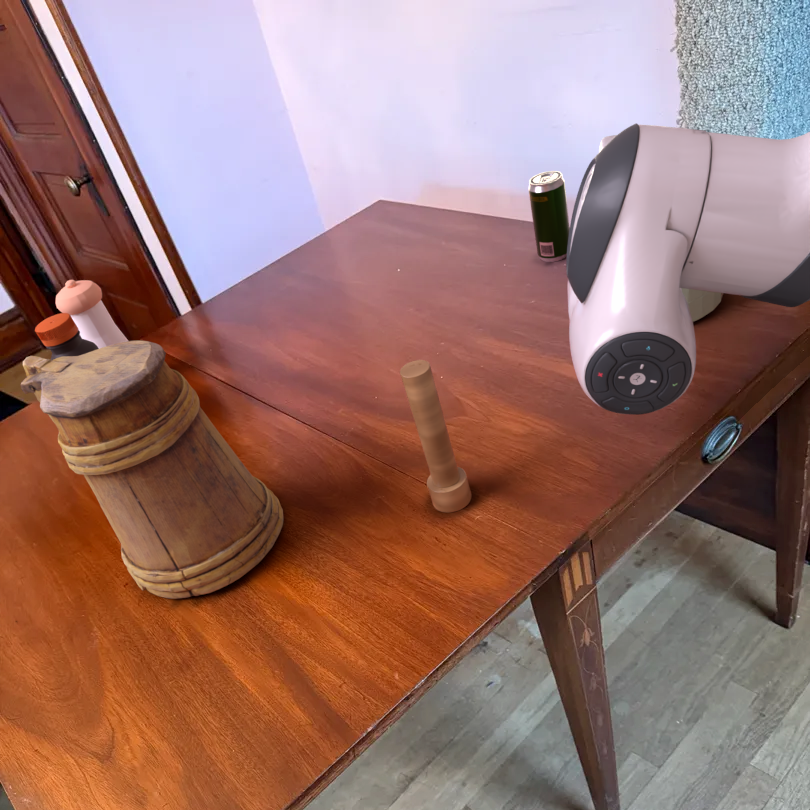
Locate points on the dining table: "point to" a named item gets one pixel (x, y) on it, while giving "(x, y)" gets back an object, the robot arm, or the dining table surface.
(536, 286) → the dining table surface
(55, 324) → the bottle
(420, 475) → the dining table surface
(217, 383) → the dining table surface
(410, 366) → the wooden pestle
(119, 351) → the tankard
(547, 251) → the beer can
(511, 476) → the dining table surface
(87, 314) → the pepper shaker
